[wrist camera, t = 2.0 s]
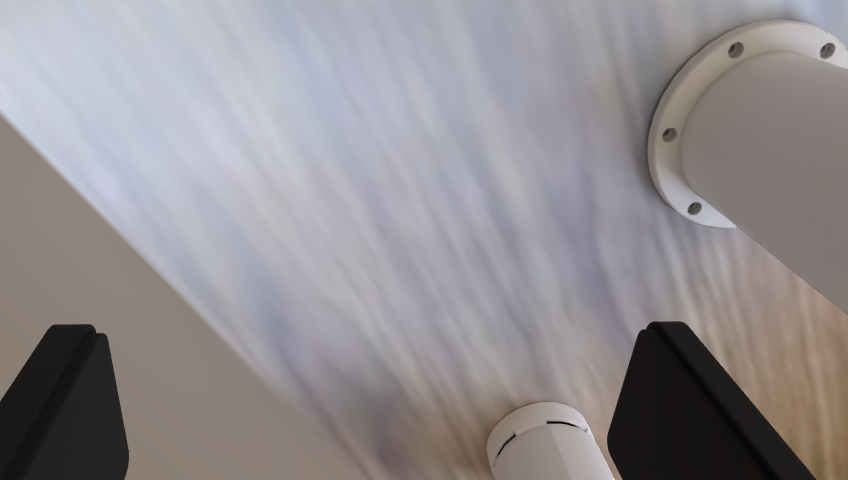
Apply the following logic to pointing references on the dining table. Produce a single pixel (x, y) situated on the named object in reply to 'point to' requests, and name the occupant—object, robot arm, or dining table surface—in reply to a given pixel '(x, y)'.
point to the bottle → (545, 446)
